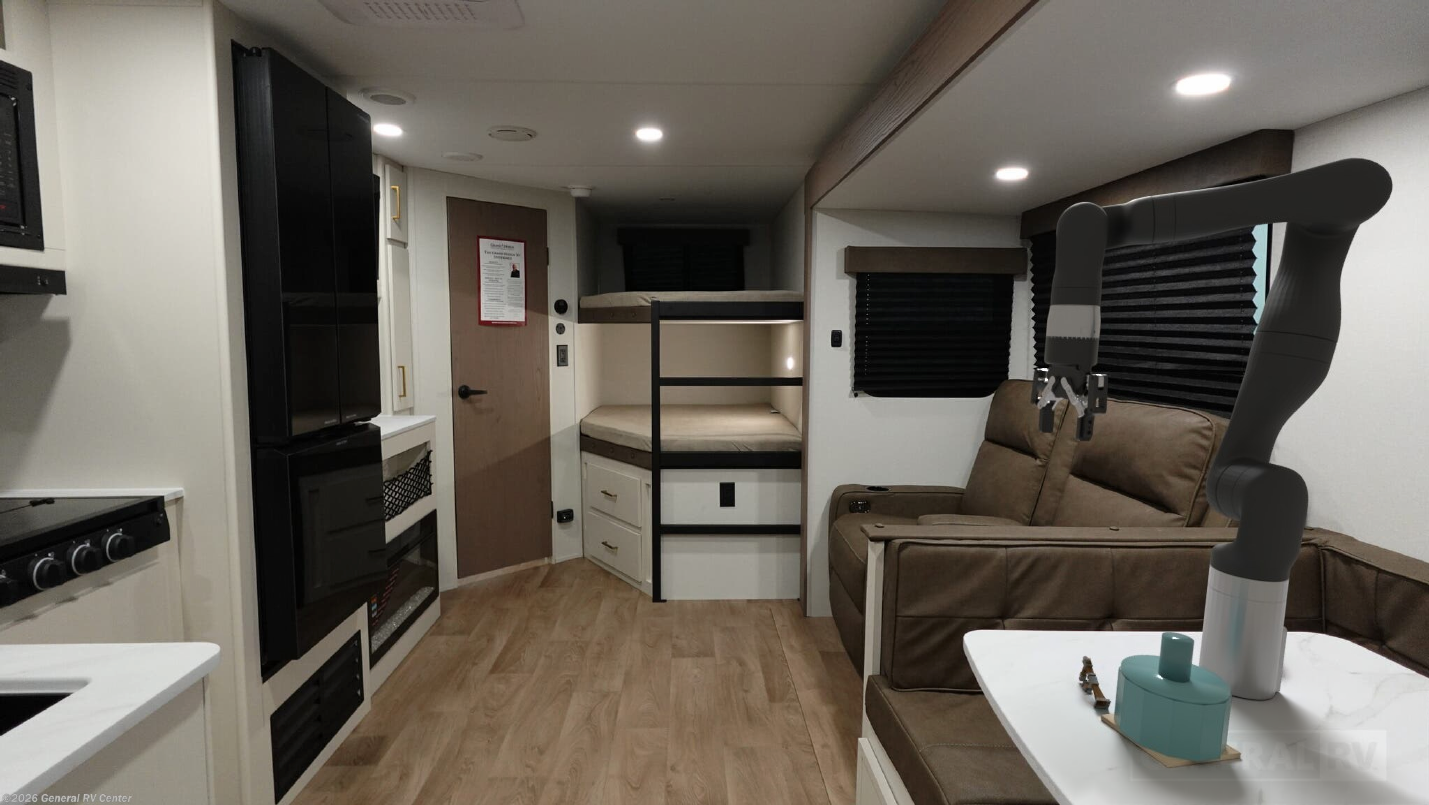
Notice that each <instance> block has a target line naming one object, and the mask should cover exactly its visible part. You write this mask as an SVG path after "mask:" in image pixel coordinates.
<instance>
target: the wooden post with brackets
mask: <svg viewBox="0 0 1429 805" xmlns="http://www.w3.org/2000/svg"><path fill="white" fill-rule="evenodd" d="M1081 663H1082V664H1083V666H1082V668H1081V671H1080V673H1079V676H1078V680H1079V682H1082V683H1081V687H1083V689H1084V692H1086V694H1090V695H1091V694H1092V693H1093V697H1094V700H1095V702H1094V703H1093V708H1099V709H1107V710H1109V708H1110V705H1111V703H1112V700H1111V699H1109V698H1106V696H1105V695H1104V694H1103V692H1102V690H1101V688H1100V682H1099V681H1098V676H1097V675H1096V672H1094V669H1093V667H1094V664H1093V662H1092V660H1091V657H1088V656H1087V655H1084V656H1082V660H1081Z"/></svg>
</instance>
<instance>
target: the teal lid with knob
mask: <svg viewBox="0 0 1429 805" xmlns="http://www.w3.org/2000/svg"><path fill="white" fill-rule="evenodd" d="M1160 641H1161V643H1160V651H1159V655H1153V654H1135V655H1131V656H1130V655H1129V656H1126V657H1125V658H1123V659H1122V660H1121V662H1120V666H1118V672H1117V682H1116V692H1115V701H1114V702H1115V703H1114V712H1113V713H1114V720H1115V722H1116V724H1117V726H1118V728H1119V730H1120V732H1122V733H1123V734H1125V735H1126V736H1127V737H1129V738H1130V739H1132V740H1133V741H1134V742H1136V743H1137V744H1139V745H1141V746H1143V747H1146V748H1148V749H1151V750H1153V751H1156V752H1158V753H1161V754H1163V755H1166V756H1168V757H1174V758H1179V759H1185V760H1191V761H1196V762H1201V761H1208V760H1215V759H1220V757H1221V756H1222V754H1223V753H1224V751H1225V749H1226V744H1227V745H1228V743H1227V742H1228V735H1229V734H1228V733H1229V725H1230V717H1231V708H1232V701H1233V695H1232V694H1231V693H1230V692H1231V689H1230V687H1229V685H1228V684H1227V683H1226V682H1225V681H1224V680H1223V679H1222V678H1220V677H1219V676H1217V675H1216V674H1214V673H1212V672H1210V671H1208V670H1206V669H1204V668H1201V667H1199V665H1196V664H1194V663H1193V656H1194V648H1195V647H1194V646H1195V640H1194V638H1192V637H1190V636H1188V635H1187V634H1184V633H1183V634H1182V633H1179V632H1175V631H1174V632H1173V631H1165V632H1162V634H1161V639H1160Z"/></svg>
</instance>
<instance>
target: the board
mask: <svg viewBox="0 0 1429 805" xmlns="http://www.w3.org/2000/svg"><path fill="white" fill-rule="evenodd" d="M1100 720H1101V721H1103V722H1104V723H1106V724H1107V725H1108V726H1110V727H1111V728H1112V729H1114V730H1115V731H1117V732H1118V733H1119V734H1121V735H1122V736H1124V737H1125V738H1126V739H1128V740H1129V741H1130V742H1132V743H1133V744H1134V745H1136V746H1137V747H1139V748H1140V749H1142V750H1143V751H1145V753H1147V754H1149V755H1150V756H1152V757H1153V758H1154V759H1156V760H1157V761H1158V762H1160V763H1161V764H1162V765H1164V766H1166V767H1167V768H1175V767H1181V766H1183V767H1184V766H1188V765H1196V764H1197V765H1198V764H1204V763H1211V762H1219V761H1225V760H1234V759H1240V758H1241V757H1242V756H1241V755H1242V753H1241V752H1240V751H1239V750H1237V749H1235V748H1233V747H1232V746H1230V745H1229V744H1228V743H1227V744H1226V749H1225V751H1224V753H1223V754H1222V756H1221V757H1220V759H1215V760H1208V761H1201V762H1196V761H1191V760H1185V759H1179V758H1174V757H1168V756H1166V755H1163V754H1161V753H1158V752H1156V751H1153V750H1151V749H1148V748H1146V747H1143V746H1141V745H1139V744H1137V743H1136V742H1134V741H1133V740H1132V739H1130V738H1129V737H1127V736H1126V735H1125V734H1123V733H1122V732H1120V730H1119V728H1118V726H1117V724H1116V722H1115V720H1114V712H1113V713H1107V714H1106V713H1105V714H1101V715H1100Z"/></svg>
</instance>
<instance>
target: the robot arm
mask: <svg viewBox="0 0 1429 805" xmlns="http://www.w3.org/2000/svg"><path fill="white" fill-rule="evenodd" d="M1393 185H1394V184H1393V180H1392V177H1391V174H1390V173H1389V171H1388V170H1387V169H1386V167H1384V166H1383V165H1381V164H1380V163H1378V162H1376V161H1374V160H1371V159H1367V158H1362V157H1349V158H1342V159H1338V160H1335V161H1334V160H1333V161H1330V162H1328V163H1324V164H1319V165H1316V166H1314V167H1313V166H1312V167H1309V168H1305V169H1302V170H1299V171H1294V172H1291V173H1290V172H1289V173H1286V174H1282V175H1278V176H1273V177H1269V178H1264V179H1258V180H1255V181H1249V182H1243V183H1237V184H1232V185H1224V186H1217V187H1210V188H1202V189H1196V190H1187V191H1180V192H1171V193H1166V194H1165V193H1163V194H1158V195H1157V194H1156V195H1151V196H1150V195H1149V196H1144V197H1139V198H1135V199H1132V200H1130V201H1128V202H1126V203H1120V204H1112V205H1106V206H1105V205H1104V206H1100V205H1097V204H1095V203H1093V202H1089V201H1087V202H1086V201H1084V202H1083V201H1082V202H1077V203H1075V204H1073V205H1071V206H1069V207H1067V209H1065V210H1064V211H1063V213H1062V214H1061V215H1060V216H1059V219H1058V221H1057V223H1056V224H1057V225H1056V232H1055V234H1056V243H1055V248H1056V249H1055V270H1054V274H1053V279H1052V284H1051V292H1050V294H1051V295H1050V306H1049V311H1048V314H1047V315H1048V316H1047V323H1046V335H1045V347H1044V356H1043V357H1044V359H1043V360H1044V363H1045V364H1047V365H1049V366H1048V368H1035V369H1034V371H1033V378H1032V386H1031V394H1030V395H1031V396H1030V403H1031V405H1035V406H1037V409H1038V410H1039V415H1038V431H1039V432H1040V433H1043V434H1051V433H1053V431H1054V426H1055V425H1054V424H1055V412H1056V410H1054V409H1055V408H1056V406H1057V404H1058V403H1059V402H1060V401H1062V400H1063V399H1064V400H1069V402H1070V404H1071V405H1073V406H1074V407H1075V409H1076V411H1077V414H1078V416H1077V420H1076V433H1075V439H1076V441H1079V442H1090V441H1091V440H1092V437H1093V435H1094V425H1095V423H1094V422H1095V418H1096V417H1097V416H1099V415H1105V414H1107V410H1108V389H1109V388H1108V387H1109V386H1108V385H1109V376H1108V375H1107V374H1099V373H1098V374H1096V373H1095V374H1093V372H1092V367H1094V366H1096V365H1097V364H1098V356H1099V355H1098V354H1099V353H1098V352H1099V342H1100V333H1101V300H1102V288H1103V287H1102V286H1103V279H1102V278H1103V275H1102V274H1103V271H1102V270H1103V266H1104V264H1103V263H1104V260H1105V255H1106V250H1111V249H1118V248H1121V247H1126V246H1135V245H1137V246H1138V245H1151V244H1152V245H1153V244H1163V243H1170V242H1171V243H1173V242H1180V241H1187V240H1192V239H1199V238H1203V237H1204V238H1205V237H1208V236H1212V235H1216V234H1220V233H1225V232H1229V231H1233V230H1238V229H1239V230H1240V229H1244V228H1249V227H1254V226H1255V227H1256V226H1263V225H1270V224H1281V223H1283V224H1284V223H1285V224H1286V225H1285V230H1284V237H1283V244H1282V250H1281V256H1280V261H1279V265H1278V268H1277V271H1276V274H1275V277H1274V279H1273V282H1272V284H1271V285H1270V286H1271V287H1270V289H1269V292H1268V294H1267V297H1266V300H1265V303H1264V305H1263V308H1262V311H1261V315H1260V318H1259V321H1258V324H1257V327H1256V330H1255V333H1254V336H1253V340H1252V343H1251V346H1250V351H1249V355H1248V358H1247V364H1246V368H1245V372H1244V374H1243V378H1242V382H1241V385H1240V388H1239V391H1238V394H1237V398H1236V400H1235V403H1234V407H1233V410H1232V413H1231V417H1230V419H1229V422H1228V425H1227V427H1226V429H1225V432H1224V434H1223V437H1222V438H1221V442H1220V443H1219V446H1218V448H1217V450H1216V451H1217V452H1216V453H1215V456H1214V458H1213V460H1212V463H1211V464H1210V465H1211V466H1210V468H1209V471H1208V474H1207V476H1206V480H1205V481H1206V483H1205V497H1206V501H1207V502H1208V505H1209V506H1210V507H1211V509H1212V510H1213V511H1214V512H1216V513H1218V514H1220V515H1221V516H1224V517H1227V518H1228V519H1231V520H1235V521H1237V522H1238V523H1239V524H1238V528H1237V531H1236V535H1235V539H1234V541H1232V542H1222V543H1217V544H1215V545H1214V546H1213V547H1212V549H1211V552H1210V559H1209V571H1208V579H1207V580H1208V581H1207V589H1206V596H1205V597H1206V598H1205V606H1204V617H1203V626H1202V634H1201V641H1200V651H1199V652H1200V653H1199V658H1198V659H1199V661H1198V662H1199V663H1198V666H1199V667H1201V668H1204V669H1206V670H1208V671H1210V672H1212V673H1214V674H1216V675H1217V676H1219V677H1220V678H1222V679H1223V680H1224V681H1225V682H1226V683H1227V684H1228V685H1229V687H1230V689H1231V692H1230V693H1231V694H1232V696H1234V697H1238V698H1244V699H1248V700H1258V701H1259V700H1262V701H1263V700H1269V699H1272V698H1274V697H1275V694H1276V693H1277V692H1281V688H1282V686H1281V685H1282V678H1283V670H1284V663H1285V662H1284V661H1285V655H1286V647H1287V646H1286V643H1287V636H1288V629H1287V627H1286V626H1284V624H1285V616H1286V607H1287V598H1288V590H1289V581H1290V574H1291V570H1292V568H1293V566H1294V564H1295V563H1296V561H1297V560H1298V557H1299V554H1300V551H1301V547H1302V542H1303V536H1304V530H1305V527H1306V526H1305V525H1306V521H1307V515H1308V510H1309V509H1308V508H1309V490H1308V486H1307V483H1306V481H1305V480H1304V479H1305V478H1303V477H1302V475H1301V474H1300V473H1298V472H1297V471H1296V470H1294V469H1291V468H1289V467H1287V466H1284V465H1280V464H1275V463H1273V462H1272V463H1271V457H1272V454H1273V450H1274V447H1275V445H1276V442H1277V439H1278V436H1279V435H1280V432H1281V431H1282V429H1283V427H1284V426H1285V424H1286V423H1287V422H1288V420H1289V419H1290V418H1291V417H1292V416H1293V415H1294V414H1295V413H1296V412H1298V410H1299V409H1300V408H1301V407H1303V405H1304V404H1306V402H1308V400H1310V398H1311V397H1312V396H1313V395H1314V394H1315V392H1316V391H1317V390H1318V389H1319V388H1320V387H1321V386H1322V385H1323V383H1324V381H1325V380H1326V378H1327V376H1328V374H1329V371H1330V370H1331V369H1330V368H1331V366H1332V362H1333V359H1334V355H1335V353H1336V352H1335V351H1336V349H1337V346H1338V345H1337V343H1338V342H1339V338H1340V333H1341V326H1342V295H1341V279H1342V272H1343V268H1344V264H1345V262H1346V258H1347V256H1348V254H1349V251H1350V248H1351V245H1352V243H1353V241H1354V239H1355V236H1356V234H1357V232H1358V230H1359V228H1360V225H1362V224H1363V223H1366V222H1367V221H1369V220H1370V219H1372V217H1375V216H1376V215H1377V214H1378V213H1379V212H1380V211H1381V210H1382V209H1383V208H1384V207H1385V206H1386V204H1387V203H1388V201H1389V199H1390V197H1391V195H1392V192H1393V187H1394V186H1393ZM1040 391H1041V395H1040V397H1039V392H1040ZM1097 399H1098V402H1097ZM1097 403H1098V405H1097Z"/></svg>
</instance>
